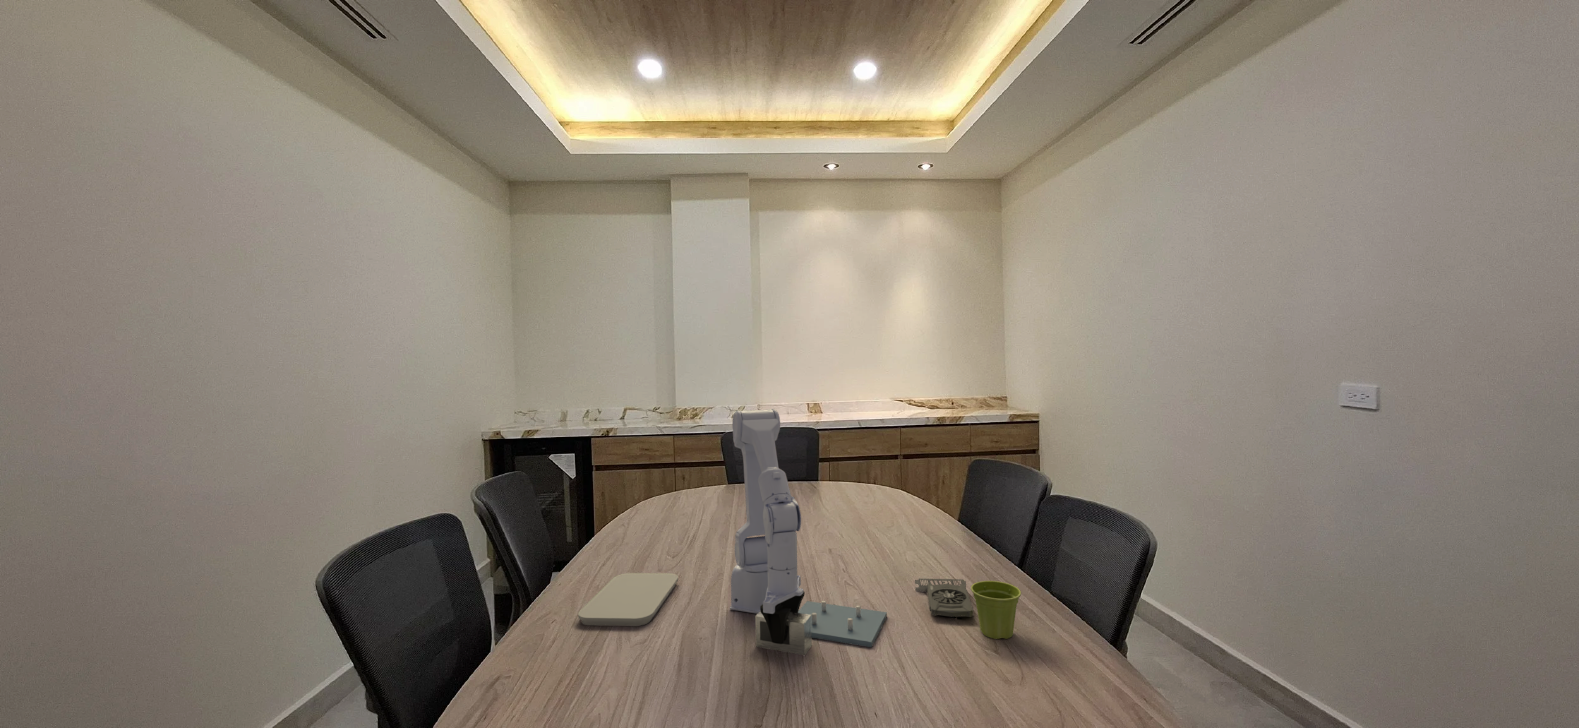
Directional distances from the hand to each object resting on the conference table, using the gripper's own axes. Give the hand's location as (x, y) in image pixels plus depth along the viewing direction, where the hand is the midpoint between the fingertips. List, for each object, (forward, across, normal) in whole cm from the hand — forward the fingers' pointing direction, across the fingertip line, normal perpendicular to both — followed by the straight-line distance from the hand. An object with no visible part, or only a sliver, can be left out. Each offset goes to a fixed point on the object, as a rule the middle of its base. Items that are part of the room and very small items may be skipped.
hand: (783, 635), depth 111 cm
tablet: (+3, +8, +41) cm, 42 cm away
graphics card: (+3, +29, -27) cm, 40 cm away
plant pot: (+2, +19, -38) cm, 43 cm away
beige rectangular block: (+2, 0, 0) cm, 2 cm away
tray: (+2, +12, -7) cm, 14 cm away
